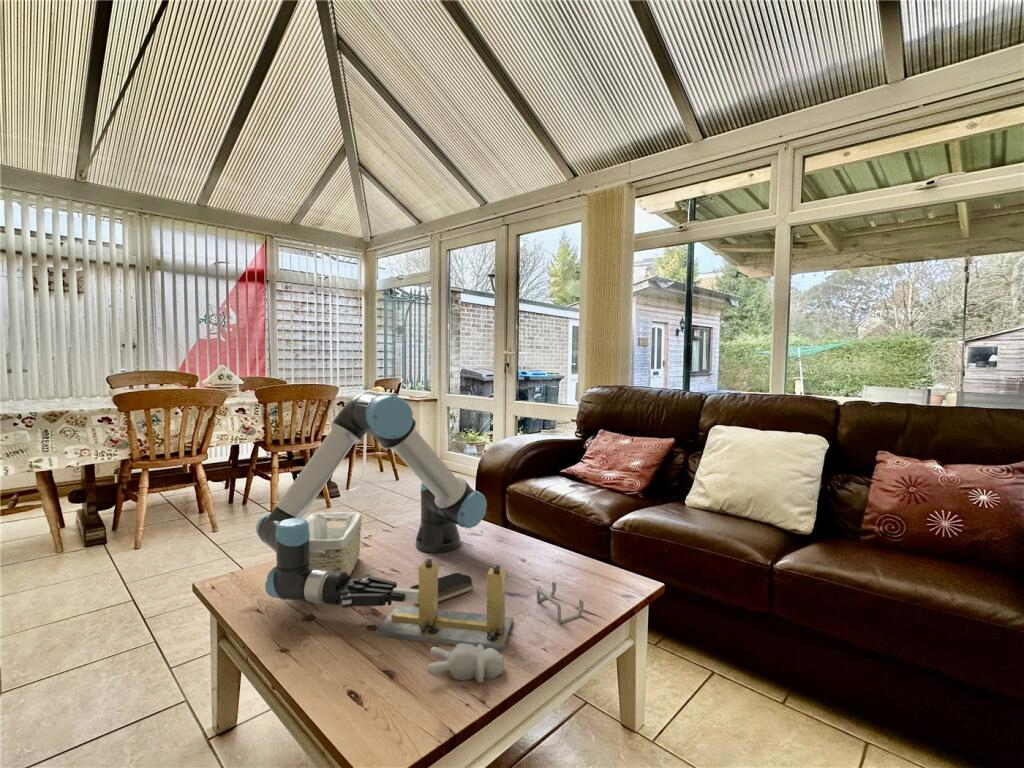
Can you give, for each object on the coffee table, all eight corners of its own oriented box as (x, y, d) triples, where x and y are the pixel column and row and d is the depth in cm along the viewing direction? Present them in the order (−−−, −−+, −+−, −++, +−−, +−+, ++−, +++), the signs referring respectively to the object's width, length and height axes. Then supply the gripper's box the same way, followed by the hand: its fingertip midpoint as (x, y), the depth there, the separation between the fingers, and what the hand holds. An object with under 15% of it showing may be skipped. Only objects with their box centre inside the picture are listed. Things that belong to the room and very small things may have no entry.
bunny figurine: (506, 667, 96) (429, 661, 94) (502, 692, 96) (425, 687, 95) (502, 639, 105) (432, 634, 104) (499, 662, 105) (429, 657, 104)
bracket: (583, 618, 123) (584, 598, 122) (558, 625, 118) (559, 604, 118) (552, 596, 134) (554, 578, 133) (528, 602, 129) (530, 583, 129)
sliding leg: (424, 615, 119) (424, 556, 118) (438, 617, 119) (438, 557, 118) (415, 629, 113) (415, 566, 112) (429, 630, 113) (429, 568, 112)
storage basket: (344, 591, 134) (344, 538, 134) (283, 593, 133) (282, 539, 132) (363, 556, 158) (363, 511, 157) (312, 557, 157) (311, 511, 156)
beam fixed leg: (395, 613, 120) (395, 554, 120) (504, 625, 116) (505, 563, 115) (385, 627, 114) (385, 564, 114) (499, 640, 110) (500, 574, 109)
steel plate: (396, 609, 125) (396, 604, 125) (512, 622, 119) (512, 617, 119) (375, 635, 113) (375, 630, 113) (503, 651, 108) (503, 645, 108)
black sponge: (423, 611, 125) (423, 597, 125) (407, 598, 131) (407, 584, 131) (475, 592, 135) (475, 579, 135) (458, 581, 142) (458, 568, 142)
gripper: (342, 589, 127) (429, 599, 123) (313, 615, 114) (408, 626, 110) (342, 561, 127) (429, 569, 123) (313, 584, 114) (408, 594, 110)
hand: (419, 596), depth 116 cm, fingers closed
